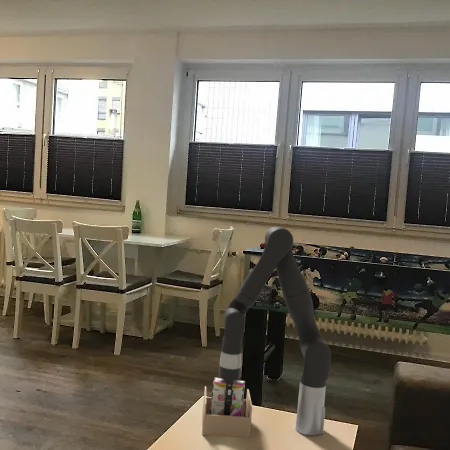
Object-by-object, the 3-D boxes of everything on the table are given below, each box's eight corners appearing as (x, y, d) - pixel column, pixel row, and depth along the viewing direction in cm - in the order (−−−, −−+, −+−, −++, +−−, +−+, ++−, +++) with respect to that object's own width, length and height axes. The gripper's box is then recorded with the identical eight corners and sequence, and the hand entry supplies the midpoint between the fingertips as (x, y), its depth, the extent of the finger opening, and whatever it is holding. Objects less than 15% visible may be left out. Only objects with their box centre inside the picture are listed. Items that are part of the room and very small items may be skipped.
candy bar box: (208, 427, 198) (212, 381, 197) (210, 421, 203) (214, 376, 202) (240, 431, 197) (244, 385, 196) (241, 425, 202) (245, 380, 201)
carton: (246, 418, 209) (248, 389, 208) (249, 437, 192) (252, 406, 192) (202, 415, 208) (204, 386, 207) (202, 434, 192) (204, 403, 191)
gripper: (242, 372, 192) (238, 420, 193) (239, 358, 206) (235, 404, 207) (220, 370, 191) (216, 419, 193) (219, 357, 206) (215, 402, 207)
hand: (226, 411), depth 200 cm, fingers closed on candy bar box, 5 cm apart
